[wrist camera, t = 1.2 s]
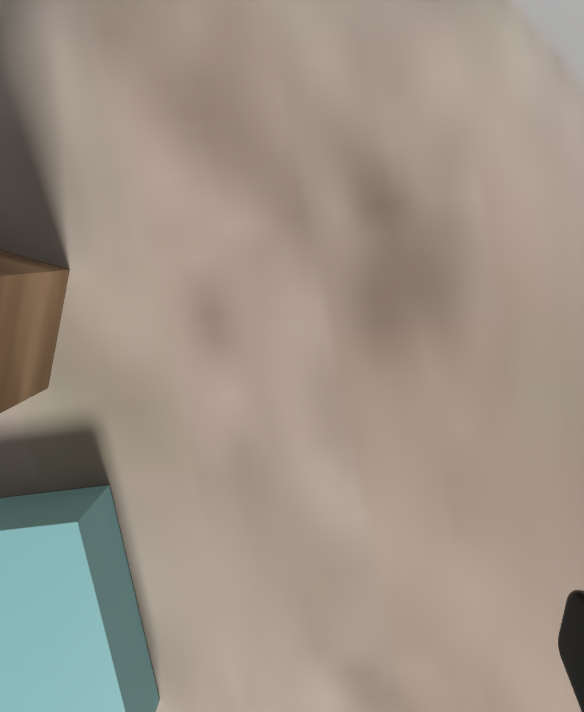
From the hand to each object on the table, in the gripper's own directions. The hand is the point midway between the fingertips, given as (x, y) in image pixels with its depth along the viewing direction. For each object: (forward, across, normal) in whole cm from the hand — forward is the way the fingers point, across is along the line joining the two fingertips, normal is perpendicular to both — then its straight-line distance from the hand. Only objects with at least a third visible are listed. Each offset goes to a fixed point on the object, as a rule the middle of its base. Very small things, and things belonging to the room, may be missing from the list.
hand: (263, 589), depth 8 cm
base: (+13, +11, +12) cm, 21 cm away
